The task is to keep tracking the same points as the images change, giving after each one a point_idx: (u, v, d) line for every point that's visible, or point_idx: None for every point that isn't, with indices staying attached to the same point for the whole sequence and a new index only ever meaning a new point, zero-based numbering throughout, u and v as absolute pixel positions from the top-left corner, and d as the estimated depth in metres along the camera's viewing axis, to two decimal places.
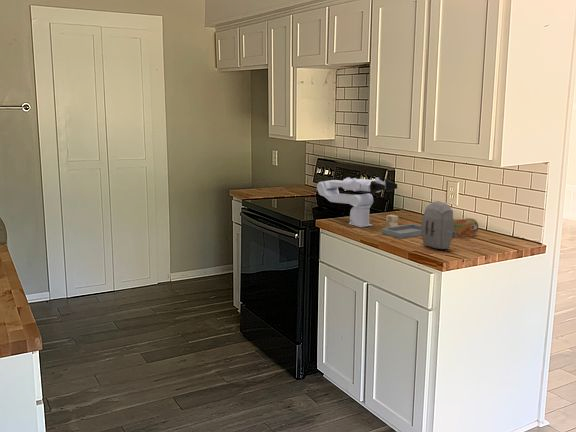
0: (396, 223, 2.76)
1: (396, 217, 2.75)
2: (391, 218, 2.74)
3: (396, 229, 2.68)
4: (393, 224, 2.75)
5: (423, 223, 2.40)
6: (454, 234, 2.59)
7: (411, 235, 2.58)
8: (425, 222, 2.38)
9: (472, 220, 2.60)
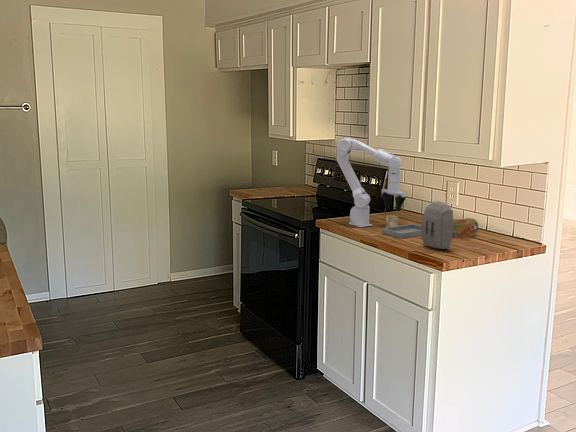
0: (396, 223, 2.76)
1: (396, 217, 2.75)
2: (391, 218, 2.74)
3: (396, 229, 2.68)
4: (393, 224, 2.75)
5: (423, 223, 2.40)
6: (454, 234, 2.59)
7: (411, 235, 2.58)
8: (425, 222, 2.38)
9: (472, 220, 2.60)
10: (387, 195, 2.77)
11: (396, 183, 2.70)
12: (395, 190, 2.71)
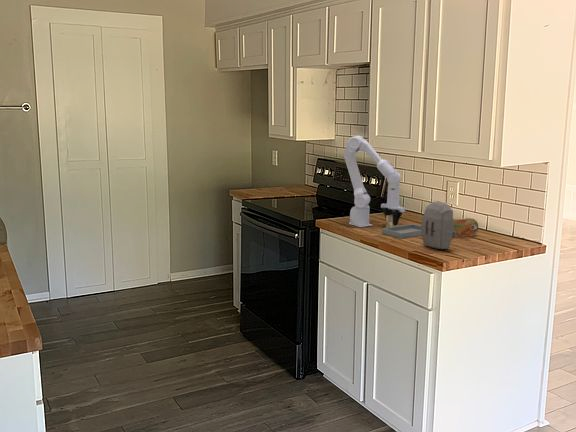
0: None
1: None
2: (391, 218, 2.74)
3: (396, 229, 2.68)
4: None
5: (423, 223, 2.40)
6: (454, 234, 2.59)
7: (411, 235, 2.58)
8: (425, 222, 2.38)
9: (472, 220, 2.60)
10: (389, 210, 2.77)
11: (395, 198, 2.72)
12: (394, 205, 2.72)
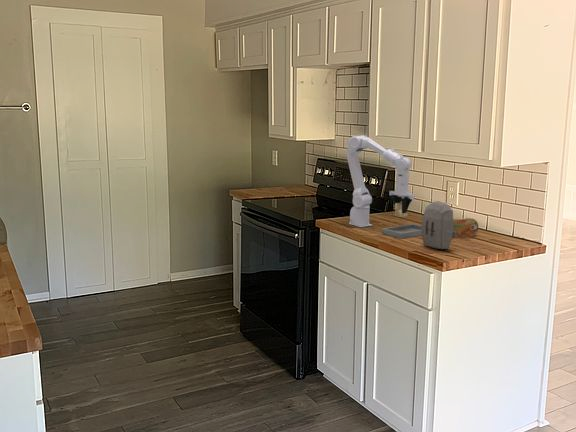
0: None
1: None
2: (400, 206, 2.66)
3: (396, 229, 2.68)
4: None
5: (423, 223, 2.40)
6: (454, 234, 2.59)
7: (411, 235, 2.58)
8: (425, 222, 2.38)
9: (472, 220, 2.60)
10: (397, 198, 2.69)
11: (404, 185, 2.64)
12: (403, 192, 2.64)
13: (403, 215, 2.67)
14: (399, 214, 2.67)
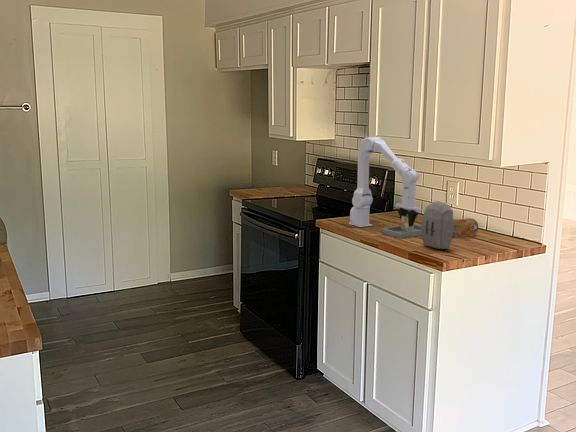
0: None
1: None
2: (407, 219, 2.61)
3: (396, 229, 2.68)
4: None
5: (423, 223, 2.40)
6: (454, 234, 2.59)
7: (411, 235, 2.58)
8: (425, 222, 2.38)
9: (472, 220, 2.60)
10: (404, 210, 2.65)
11: (411, 198, 2.59)
12: (410, 205, 2.60)
13: (409, 228, 2.63)
14: (405, 227, 2.62)
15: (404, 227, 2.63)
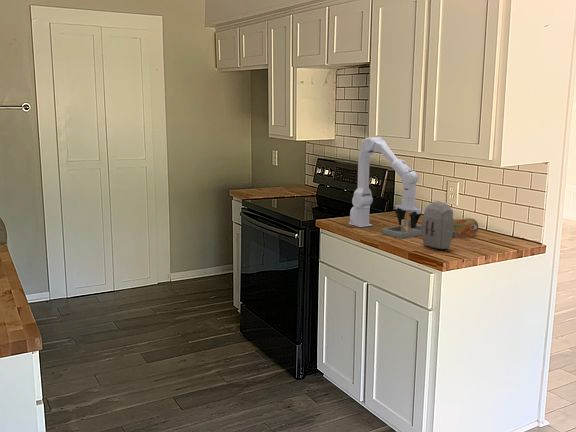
0: None
1: None
2: (406, 222, 2.62)
3: (396, 229, 2.68)
4: (408, 228, 2.62)
5: (423, 223, 2.40)
6: (454, 234, 2.59)
7: (411, 235, 2.58)
8: (425, 222, 2.38)
9: (472, 220, 2.60)
10: (401, 211, 2.66)
11: (411, 199, 2.59)
12: (410, 206, 2.60)
13: None
14: (405, 231, 2.63)
15: (404, 230, 2.63)
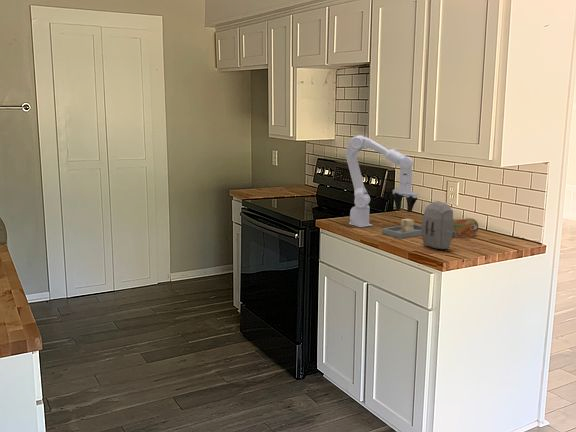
0: (412, 227, 2.63)
1: (412, 221, 2.63)
2: (406, 222, 2.62)
3: (396, 229, 2.68)
4: (408, 228, 2.62)
5: (423, 223, 2.40)
6: (454, 234, 2.59)
7: (411, 235, 2.58)
8: (425, 222, 2.38)
9: (472, 220, 2.60)
10: (398, 196, 2.75)
11: (407, 184, 2.69)
12: (406, 191, 2.69)
13: None
14: (405, 231, 2.63)
15: (404, 230, 2.63)
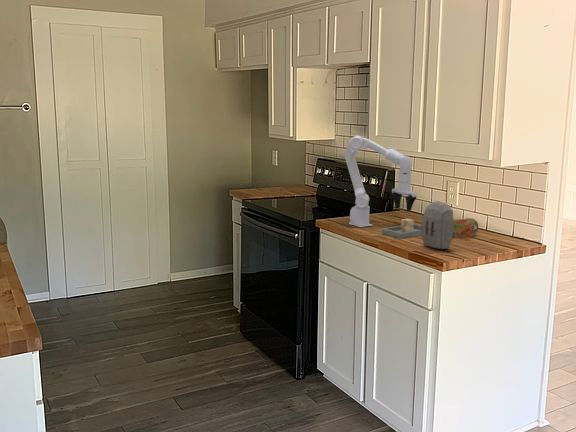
0: (412, 227, 2.63)
1: (412, 221, 2.63)
2: (406, 222, 2.62)
3: (396, 229, 2.68)
4: (408, 228, 2.62)
5: (423, 223, 2.40)
6: (454, 234, 2.59)
7: (411, 235, 2.58)
8: (425, 222, 2.38)
9: (472, 220, 2.60)
10: (397, 195, 2.78)
11: (407, 183, 2.71)
12: (406, 190, 2.72)
13: None
14: (405, 231, 2.63)
15: (404, 230, 2.63)
